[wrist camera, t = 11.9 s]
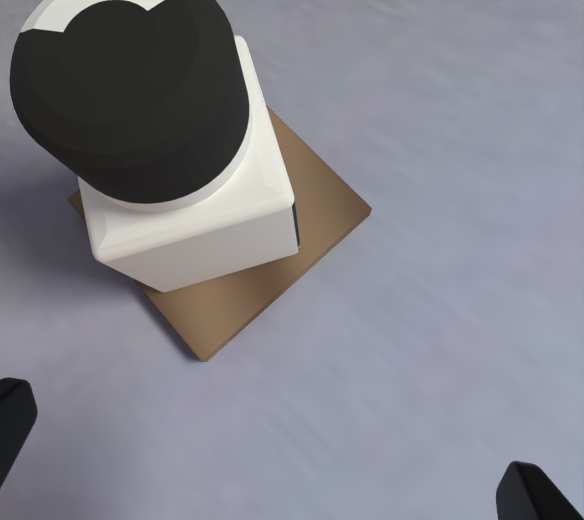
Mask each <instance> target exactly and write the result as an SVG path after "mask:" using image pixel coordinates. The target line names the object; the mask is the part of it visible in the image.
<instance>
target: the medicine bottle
mask: <svg viewBox="0 0 584 520" xmlns="http://www.w3.org/2000/svg"><path fill="white" fill-rule="evenodd" d="M10 93H11V98H12V102H13V106H14V109H15V111H16V114H17V116H18V118H19V120H20V122H21V124H22V125H23V127H24V128H25V130H26V131H27V133H28V134H29V135H30V136H31V137H32V138H33V139H34V140H35V141H36V142H37V143H38V144H39V145H40V146H42V147H43V148H44V149H45V150H47V151H48V152H49V153H50V154H52V155H53V156H54V157H55V158H57V159H58V160H59V161H60V162H61V163H63V164H64V165H65V166H66V167H68V168H69V169H70V170H71V171H73V172H74V173H75V174H76V175H77V176H78V182H79V187H80V192H81V197H82V203H83V208H84V213H85V218H86V224H87V229H88V234H89V239H90V245H91V250H92V254H93V256H94V258H95V259H96V260H97V261H99V262H101V263H103V264H105V265H107V266H109V267H111V268H113V269H115V270H117V271H119V272H121V273H123V274H125V275H128V276H130V277H132V278H134V279H136V280H138V281H140V282H142V283H144V284H146V285H148V286H150V287H152V288H154V289H156V290H158V291H160V292H169V291H172V290H176V289H179V288H183V287H186V286H189V285H193V284H196V283H199V282H203V281H206V280H210V279H213V278H216V277H220V276H223V275H226V274H230V273H233V272H237V271H240V270H243V269H247V268H250V267H254V266H257V265H260V264H264V263H267V262H270V261H274V260H277V259H281V258H284V257H287V256H291V255H294V254H296V253H298V252H299V250H300V238H299V230H298V222H297V214H296V206H295V198H294V194H293V190H292V187H291V184H290V181H289V178H288V174H287V171H286V168H285V165H284V162H283V158H282V155H281V152H280V149H279V146H278V142H277V139H276V136H275V133H274V130H273V126H272V123H271V120H270V117H269V114H268V110H267V107H266V104H265V101H264V98H263V94H262V91H261V88H260V85H259V82H258V79H257V75H256V72H255V69H254V66H253V63H252V59H251V56H250V53H249V50H248V47H247V43H246V42H245V40H244V39H243V37H241V36H239V35H238V36H234V35H233V32H232V29H231V25H230V23H229V21H228V19H227V17H226V15H225V13H224V11H223V10H222V9H221V7H220V6H219V4H218V3H217V2H216V0H43V1H42V2H41V3H40V4H39V6H38V7H37V8H36V9H35V10H34V11H33V13H32V14H31V15H30V17H29V18H28V19H27V21H26V22H25V24H24V26H23V28H22V30H21V31H20V33H19V36H18V38H17V41H16V44H15V47H14V51H13V55H12V60H11V68H10Z"/></svg>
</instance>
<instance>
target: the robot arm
mask: <svg viewBox="0 0 584 520" xmlns="http://www.w3.org/2000/svg"><path fill="white" fill-rule="evenodd" d="M36 418H37V405H36V402H35V399H34V395H33V392H32V389H31V386H30V383H29V382H28V381H26V380H23V379H17V378H9V377H8V378H3V379H1V380H0V488H1V486H2V485H3V483H4V481H5V479H6V477H7V475H8V473H9V471H10V469H11V467H12V465H13V463H14V462H15V460H16V458H17V456H18V454H19V452H20V450H21V448H22V446H23V444H24V442H25V440H26V439H27V437H28V435H29V433H30V431H31V429H32V427H33V425H34V423H35V421H36ZM496 505H497V514H498V520H584V518H583V517H582V516H581V515H580V514H579V512H578V511H577V510H576V509H575V508H574V507H573V505H572V504H571V503H570V502H569V501H568V500H567V498H566V497H565V496H564V495H563V494H562V493H561V491H560V490H559V489H558V488H557V487H556V486H555V484H554V483H553V482H552V481H551V480H550V479H549V477H548V476H547V475H546V474H545V473H544V472H543V470H542V469H541V468H539V467H538V466H537V465H535V464H531V463H525V462H519V461H513V462H511V463H510V464H509V466H508V468H507V470H506V472H505V474H504V476H503V478H502V480H501V482H500V484H499V486H498V488H497V492H496Z"/></svg>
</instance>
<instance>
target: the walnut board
mask: <svg viewBox="0 0 584 520" xmlns="http://www.w3.org/2000/svg"><path fill="white" fill-rule="evenodd" d="M266 107H267V110H268V114H269V117H270V120H271V123H272V126H273V130H274V133H275V136H276V139H277V142H278V146H279V149H280V152H281V155H282V158H283V162H284V165H285V168H286V171H287V174H288V178H289V181H290V184H291V187H292V190H293V194H294V198H295V206H296V214H297V222H298V230H299V238H300V250H299V252H298V253H296V254H294V255H291V256H287V257H284V258H281V259H277V260H274V261H270V262H267V263H264V264H260V265H257V266H254V267H250V268H247V269H243V270H240V271H237V272H233V273H230V274H226V275H223V276H220V277H216V278H213V279H210V280H206V281H203V282H199V283H196V284H193V285H189V286H186V287H183V288H179V289H176V290H172V291H169V292H160V291H158V290H156V289H154V288H152V287H150V286H148V285H146V284H144V283H142V282H140V281H138V280H136V279H134V278H133V279H134V280H135V281H136V283H137V284H138V285H139V286H140V288H141V289H142V290H143V291H144V292H145V294H146V295H147V296H148V297H149V298H150V300H151V301H152V302H153V303H154V304H155V306H156V307H157V308H158V309H159V310H160V312H161V313H162V314H163V315H164V316H165V318H166V319H167V320H168V321H169V322H170V324H171V325H172V326H173V327H174V329H175V330H176V331H177V332H178V333H179V335H180V336H181V337H182V338H183V339H184V341H185V342H186V343H187V344H188V345H189V347H190V348H191V349H192V350H193V351H194V353H195V354H196V355H197V356H198V357H199V359H200V360H201V361H203V362H207V361H208V360H209V359H210V358H211V357H213V356H214V355H215V354H216V353H217V352H218V351H219V350H220V349H221V348H223V347H224V346H225V345H226V344H227V343H228V342H229V341H230V340H231V339H233V338H234V337H235V336H236V335H237V334H238V333H239V332H240V331H241V330H242V329H244V328H245V327H246V326H247V325H248V324H249V323H250V322H251V321H252V320H254V319H255V318H256V317H257V316H258V315H259V314H260V313H261V312H262V311H264V310H265V309H266V308H267V307H268V306H269V305H270V304H271V303H272V302H274V301H275V300H276V299H277V298H278V297H279V296H280V295H281V294H282V293H284V292H285V291H286V290H287V289H288V288H289V287H290V286H291V285H292V284H293V283H295V282H296V281H297V280H298V279H299V278H300V277H301V276H302V275H303V274H305V273H306V272H307V271H308V270H309V269H310V268H311V267H312V266H313V265H315V264H316V263H317V262H318V261H319V260H320V259H321V258H322V257H323V256H325V255H326V254H327V253H328V252H329V251H330V250H331V249H332V248H333V247H335V246H336V245H337V244H338V243H339V242H340V241H341V240H342V239H343V238H345V237H346V236H347V235H348V234H349V233H350V232H351V231H352V230H353V229H354V228H356V227H357V226H358V225H359V224H360V223H361V222H362V221H363V220H364V219H366V218H367V217H368V216H369V215H370V212H371V209H372V208H371V207H370V206H369V205H368V204H367V203H366V202H365V201H364V200H363V199H362V198H361V197H360V196H359V195H358V194H357V193H356V192H355V191H354V190H353V189H352V188H351V187H350V186H349V185H347V184H346V183H345V182H344V181H343V180H342V179H341V178H340V177H339V176H338V175H337V174H336V173H335V172H334V171H333V170H332V169H331V168H330V167H329V166H328V165H327V164H326V163H325V162H324V161H323V160H322V159H321V158H320V157H319V156H318V155H317V154H316V153H315V152H314V151H313V150H312V149H311V148H310V147H309V146H308V145H307V144H306V143H305V142H304V141H303V140H302V139H300V138H299V137H298V136H297V135H296V134H295V133H294V132H293V131H292V130H291V129H290V128H289V127H288V126H287V125H286V124H285V123H284V122H283V121H282V120H281V119H280V118H279V117H278V116H277V115H276V114H275V113H274V112H273V111H272V110H271V109H270V108H269V107H268V106H267V105H266ZM68 201H69V202H70V203H71V204H72V205H73V207H74V208H75V209H76V210H77V212H78V213H79V214H80V215H81V216H82V218H83V219H84V220H85V221H86V218H85V213H84V208H83V203H82V197H81V192H80V189H79V190H78V191H77V192H76V193H74V194H73V195H72V196H71V197H69V198H68Z"/></svg>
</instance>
